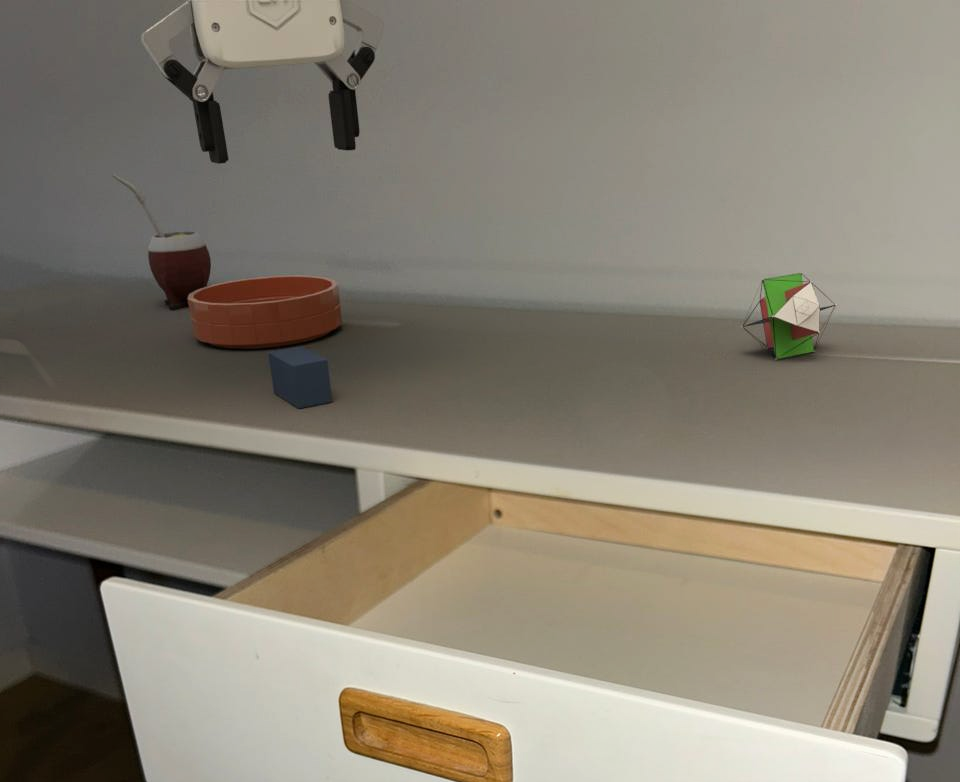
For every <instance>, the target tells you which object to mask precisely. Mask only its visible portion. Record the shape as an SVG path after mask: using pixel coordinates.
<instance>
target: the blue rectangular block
mask: <svg viewBox="0 0 960 782" xmlns="http://www.w3.org/2000/svg"><path fill="white" fill-rule="evenodd" d="M267 357H268V362H269V368H270V375H271V382H272V390H273V393H274V394H275V395H276V396H278V397H280V398H281V399H283V400H284V401H285V402H287V403H289V404H290V405H292V406H293V407H295V408H297V409H299V410H300V409H304V408H309V407H315V406H320V405H325V404H330V403H333V393H332V387H331V379H330V371H329V363H328V359H327V358H325V357H323V356H321V355H319V354H317V353H315V352H313V351H311V350H309V349H308V348H306V347H303V346H301V345H300V346H296V347H290V348H289V347H288V348H284V349H278V350H271V351H268V352H267Z"/></svg>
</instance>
